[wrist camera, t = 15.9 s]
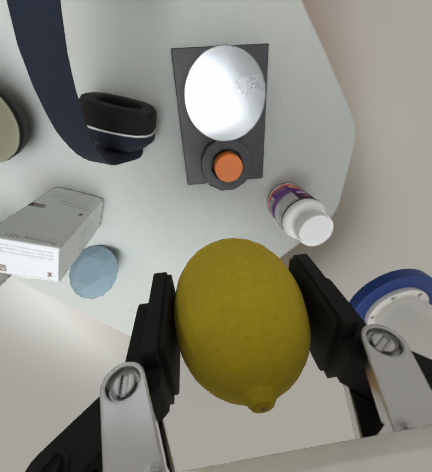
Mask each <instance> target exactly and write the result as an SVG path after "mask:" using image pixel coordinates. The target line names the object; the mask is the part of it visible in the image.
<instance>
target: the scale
mask: <svg viewBox="0 0 432 472" xmlns="http://www.w3.org/2000/svg"><path fill="white" fill-rule="evenodd" d="M232 46H236V47H239V48H241V49H243V50H245V51H246V52H247V53H249V54H250V55H251V56H252V57H253V58H254V59H255V61H256V62H257V64H258V65H259V67H260V69H261V71H262V74H263V77H264V81H265V89H267V68H268V46H269V44H250V45H232ZM212 47H215V46H210V47H191V48H172V49H171V54H172V62H173V70H174V78H175V86H176V94H177V102H178V110H179V118H180V126H181V134H182V142H183V150H184V158H185V166H186V174H187V182H188V185H193V184H204V183H209V185H210V186H213V187H215V188H217V189H219V190H232V189H235V188H237V187H238V186H240V185H241V184H243V183H244V182H245V181H246V180H247V179H257V178H262V176H263V155H264V133H265V111H266V95H265V103H264V107H263V111H262V113H261V116H260V118H259V119H258V121H257V123H256V124H255V125H254V127H253V128H252V129H251V130H250V131H249V132H248V133H246V134H245V135H244V136H242V137H240V138H238V139H235V140H232V141H217V140H213V139H211V138H209V137H207V136H205V135H204V134H202V133H201V132H200V131H199V130H198V129H197V128H196V127H195V125H194V124H193V123H192V121H191V119H190V117H189V115H188V112H187V109H186V105H185V97H184V91H185V83H186V79H187V75H188V73H189V70H190V68H191V67H192V65H193V63H194V62H195V61H196V59H197V58H198V57H199V56H200V55H201V54H202V53H204V52H205V51H207V50H208V49H210V48H212ZM225 151H230V152H233V153H235V154H236V155H237V156H238V157H239V158H240V160H241V161H242V165H243V169H242V173H241V175H240V176H239V177H238V178H237V179H236V180H234V181H232V182H225V181H222V180H221V179H219V178H218V176H217V175H216V172H215V170H214V161H215V159H216V157H217V156H218V155H219V154H220V153H222V152H225Z"/></svg>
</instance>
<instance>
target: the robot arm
mask: <svg viewBox="0 0 432 472" xmlns="http://www.w3.org/2000/svg"><path fill="white" fill-rule="evenodd" d="M289 271H290V273H291V274H292V275H293V277H294V278H295V280H296V282H297V284H298V286H299V288H300V291H301V293H302V296H303V299H304V303H305V306H306V310H307V314H308V318H309V323H310V331H311V339H310V348H309V350H310V352H311V354H312V356H313V358H314V360H315V362H316V364H317V366H318V368H319V369H320V370H321V371H324V372H325V374H326V376H327V378H332V377H337V378H338V380H339V381H340V382H341V383H342V384H343V386H344V390H345V395H346V399H347V403H348V408H349V412H350V417H351V421H352V425H353V429H354V434H355V439H354V440H349V441H342V442H337V443H331V444H326V445H321V446H316V447H310V448H304V449H299V450H294V451H288V452H283V453H278V454H272V455H267V456H261V457H257V458H251V459H246V460H241V461H235V462H230V463H225V464H220V465H214V466H210V467H204V468H199V469H193V470H188V471H183V472H432V305H431V304H429V297H428V295H427V294H426V293H425V292H423V291H422V290H421V289H419V288H415V287H406V288H401V289H397V290H394V291H392V292H389V293H387V294H385V295H384V296H382V297H381V298H379V299H378V300H377V301H375V302H374V303H373V304H372V305H371V306H370V308H369V309H368V311H367V313H366V315H365V322H364V320H363V319H362V318H361V317H360V315H359V314H358V313H357V312H356V311H355V309H354V308H353V307H352V306H351V304H350V303H349V302H348V301H347V300H346V298H345V297H344V296H343V295H342V293H340V291H339V290H338V289H337V287H336V286H335V285H334V284H333V282H332V281H331V280H330V279H328V278H326V277H325V276H324V275H323V274H322V273H321V271H320V270H319V269H318V267H317V266H316V265H315V264H314V262H313V261H312V260H311V259H310V257H309V256H308V255H307V254H299V255H294V256H293V258H292V259H290V261H289ZM175 294H176V293H175V288H174V284H173V280H172V276H171V275H167V272H163V273H156V274H154V276H153V282H152V287H151V293H150V298H149V303H146V304H140V305H139V306H138V310H137V314H136V318H135V323H134V327H133V331H132V336H131V340H130V345H129V349H128V353H127V357H126V362H125V363H122V364H120V365H118V366H116V367H115V368H113V369H112V370H111V371H110V372H109V373H108V374H107V376H106V377H105V379H104V380H103V383H102V385H101V389H100V397H99V398H98V399H97V400H95V401H94V402H93V403H92V404H91V405H90V406H89V407H88V408H87V409H86V410H85V411H84V412H83V413H82V414H81V415H80V416H78V417H77V418H76V419H75V420H74V421H73V422H72V423H71V424H70V425H69V426H68V427H67V428H66V429H65V430H64V431H63V432H62V433H61V434H59V435H58V436H57V437H56V438H55V439H54V440H53V441H52V442H51V443H50V444H49V445H48V446H47V447H46V448H45V449H44V450H43V451H42V452H40V453H39V454H38V455H37V457H36V458H35V459H34V460H33V461H32V462H31V464H30V465H29V467H28V468H27V470H26V471H25V472H177V471H176V467H175V463H174V459H173V455H172V451H171V447H170V442H169V438H168V434H167V430H166V427H165V422H164V417H165V416H166V415H167V414H168V412H169V409H170V405H171V404H174V396H175V395H178V394H179V381H180V380H179V379H180V348H179V344H178V340H177V335H176V328H175V321H174V299H175Z"/></svg>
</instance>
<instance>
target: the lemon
mask: <svg viewBox="0 0 432 472" xmlns="http://www.w3.org/2000/svg"><path fill="white" fill-rule="evenodd" d="M174 321H175V328H176V335H177V340H178V344H179V348H180V351H181V354H182V357H183V359H184V361H185V363H186V365H187V367H188V369H189V370H190V372H191V374H192V375H193V376H194V378H195V379H196V381H197V382H198V383H199V384H200V385H201V386H202V387H204V388H205V389H206V390H207V391H209V392H210V393H211V394H213V395H214V396H216V397H218V398H220V399H222V400H224V401H227V402H229V403H232V404H237V405H244V406H247V407H248V408H249V409H251V410H252V411H253V412H254V413H264V412H268V411H270V410H271V409H272V408H273V407H274V405H275V402H276V399H277V398H278V397H279V396H281V395H282V394H283V393H285V392H286V391H287V390H289V389H290V388H291V386H292V385H293V384H294V383H295V382H296V380H297V379H298V377H299V376H300V374H301V372H302V370H303V368H304V366H305V364H306V361H307V358H308V355H309V348H310V339H311V331H310V323H309V318H308V314H307V310H306V306H305V303H304V299H303V296H302V293H301V291H300V288H299V286H298V284H297V282H296V280H295V278H294V277H293V275H292V274H291V273H290V271H289V270H288V268H287V267H286V266H285V265H284V263H283V262H282V261H281V260H280V258H278V257H277V256H276V255H275V254H274V253H272V252H271V251H270V250H268V249H267V248H265V247H264V246H262V245H260V244H258V243H255V242H252V241H250V240H246V239H237V238H230V239H222V240H219V241H216V242H213V243H210V244H209V245H207V246H205V247H204V248H202V249H200V250H199V251H198V252H197V253H196V254H195V255H194V256H193V257H192V258H191V259H190V260H189V261H188V263H187V265H186V266H185V268H184V270H183V272H182V273H181V276H180V278H179V281H178V285H177V289H176V294H175V299H174Z"/></svg>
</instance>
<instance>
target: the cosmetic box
mask: <svg viewBox="0 0 432 472" xmlns="http://www.w3.org/2000/svg"><path fill="white" fill-rule="evenodd" d="M102 210H103V199H101V198H98V197H95V196H91V195H88V194H84V193H80V192H76V191H72V190H67V189H63V188H57V187H55V188H53V189H52V190H50V191H49V192H47V193H45V194H44V195H42V196H41V197H39V198H38V199H36V200H35V201H33V202H32V203H30V204H29V205H27V206H26V207H24V208H23V209H21V210H20V211H18V212H17V213H15V214H14V215H12V216H11V217H9V218H8V219H6V220H4V221H3V222H2V223H0V273H6V274H12V275H15V276H18V277H23V278H29V279H43V280H49V281H55V282H60V281H61V280H62V278H63V277H64V275H65V274H66V272H67V271H68V270H69V268H70V267H71V266H72V264H73V263H74V262H75V260H76V259H77V257H78V256H79V255H80V253H81V252H82V250H83V249H84V248H85V246H86V245H87V243H88V242H89V241H90V239H91V238H92V236H93V235H94V234H95V232H96V231H97V229H98V228H99V227H100V225H101V219H102Z"/></svg>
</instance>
